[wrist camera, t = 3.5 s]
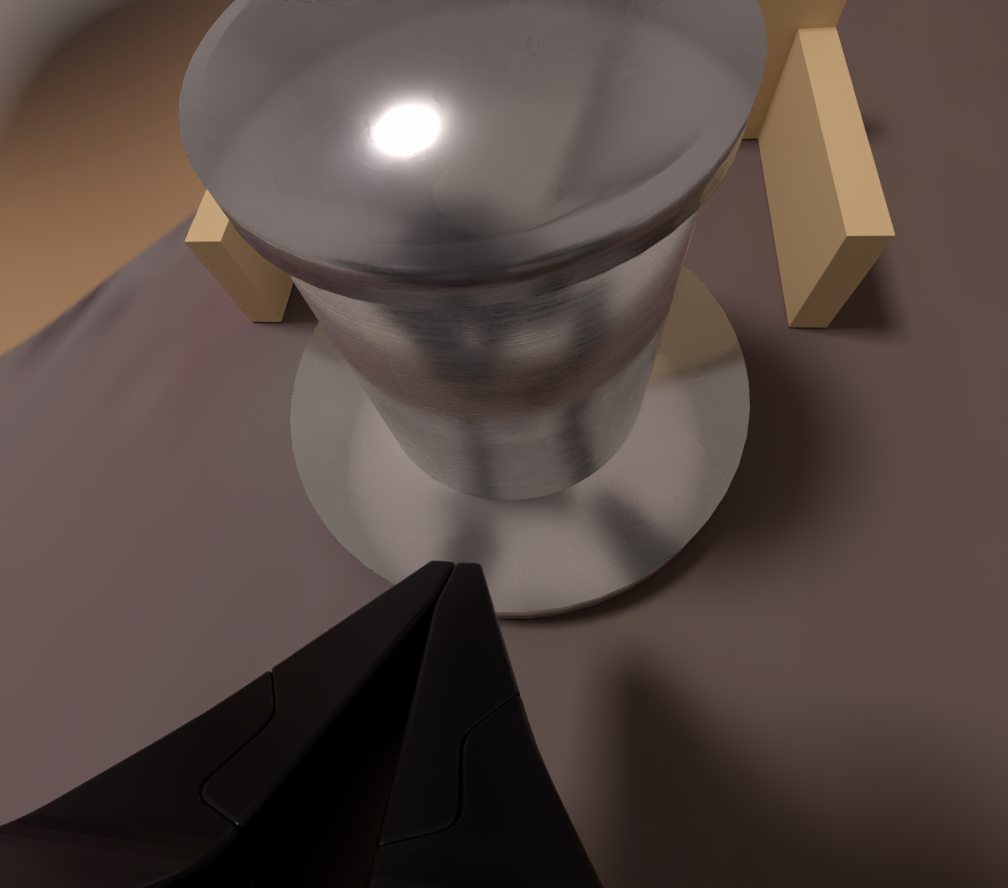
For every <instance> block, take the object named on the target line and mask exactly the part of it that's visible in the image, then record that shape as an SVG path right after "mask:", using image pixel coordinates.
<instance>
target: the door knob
mask: <svg viewBox="0 0 1008 888" xmlns="http://www.w3.org/2000/svg"><path fill="white" fill-rule="evenodd" d="M766 55H767V39H766V27H765V22H764V19H763V16H762V12H761V9H760V6H759V3H758V0H235V1H234V2H233V3H232V4H231V5H230V6H229V7H228V8H227V9H226V10H225V11H224V12H223V14H222V15H221V16H220V17H219V18H218V20H217V21H216V22H215V23H214V25H213V26H212V27H211V28H210V30H209V31H208V32H207V33H206V35H205V37H204V38H203V40H202V42H201V43H200V45H199V47H198V48H197V50H196V52H195V53H194V55H193V58H192V60H191V62H190V65H189V67H188V69H187V72H186V74H185V77H184V81H183V85H182V90H181V94H180V99H179V127H180V132H181V137H182V142H183V146H184V149H185V151H186V154H187V156H188V158H189V161H190V163H191V165H192V167H193V169H194V171H195V172H196V174H197V175H198V177H199V178H200V180H201V181H202V182H203V184H204V185H205V187H206V188H207V190H208V191H209V192H210V194H211V195H212V197H213V198H214V199H215V201H216V202H217V204H218V205H219V207H220V208H221V209H222V211H223V212H224V214H225V215H226V217H227V218H228V219H229V221H230V222H231V223H232V225H233V226H234V228H235V229H236V230H237V232H238V233H239V235H240V236H241V237H242V238H243V239H244V240H245V241H246V242H247V243H248V244H249V245H250V246H251V247H252V248H253V249H254V250H255V251H256V252H258V253H259V254H260V255H261V256H262V257H263V258H265V259H266V260H268V261H269V262H271V263H272V264H274V265H275V266H277V267H278V268H280V269H281V270H283V271H284V272H286V273H287V274H288V275H289V276H290V278H291V279H292V281H293V282H294V284H295V285H296V287H297V288H298V290H299V291H300V293H301V295H302V296H303V298H304V299H305V301H306V302H307V304H308V305H309V307H310V308H311V310H312V311H313V313H314V315H315V316H316V318H317V319H318V321H319V323H318V324H317V326H316V328H315V330H314V332H313V334H312V336H311V338H310V340H309V342H308V344H307V346H306V348H305V350H304V353H303V356H302V359H301V362H300V364H299V367H298V370H297V374H296V379H295V383H294V388H293V393H292V401H291V418H290V425H291V437H292V448H293V452H294V456H295V461H296V465H297V469H298V473H299V476H300V478H301V481H302V483H303V486H304V488H305V490H306V493H307V495H308V498H309V500H310V502H311V503H312V505H313V506H314V508H315V510H316V511H317V513H318V515H319V516H320V518H321V520H322V521H323V523H324V524H325V525H326V527H327V528H328V529H329V530H330V531H331V533H332V534H333V535H334V536H335V537H336V539H337V540H338V541H339V542H340V543H341V544H342V546H343V547H344V548H346V549H347V550H348V551H349V552H350V553H351V554H352V555H354V556H355V557H356V558H357V559H358V560H359V561H360V562H362V563H363V564H364V565H365V566H366V567H368V568H369V569H371V570H372V571H374V572H376V573H377V574H379V575H380V576H382V577H383V578H385V579H386V580H388V581H390V582H391V583H393V584H394V585H396V584H397V583H399V582H400V581H402V580H403V579H405V578H406V577H408V576H409V575H410V574H412V573H413V572H415V571H416V570H418V569H419V568H421V567H422V566H424V565H425V564H427V563H428V562H430V561H432V560H437V561H451V562H454V563H455V564H457V563H459V562H465V563H478V564H480V565H481V566H482V568H483V572H484V575H485V578H486V582H487V585H488V589H489V592H490V595H491V599H492V602H493V605H494V609H495V612H496V615H497V618H501V619H531V618H538V617H546V616H554V615H561V614H565V613H569V612H573V611H576V610H580V609H584V608H587V607H591V606H594V605H597V604H599V603H601V602H604V601H606V600H608V599H611V598H613V597H615V596H618V595H620V594H622V593H624V592H626V591H628V590H629V589H631V588H633V587H634V586H636V585H638V584H639V583H641V582H643V581H644V580H646V579H647V578H649V577H651V576H652V575H653V574H655V573H656V572H657V571H658V570H659V569H661V568H662V567H663V566H664V565H665V564H667V563H668V562H669V561H670V560H672V559H673V558H674V557H675V556H676V555H677V554H678V553H679V552H680V551H681V550H682V549H683V547H684V546H685V545H686V544H687V543H688V542H689V541H690V540H691V539H692V538H693V536H694V535H695V534H696V533H697V532H698V531H699V530H700V529H701V527H702V526H703V525H704V524H705V523H706V522H707V521H708V520H709V518H710V517H711V515H712V513H713V512H714V510H715V509H716V507H717V506H718V504H719V503H720V501H721V500H722V498H723V497H724V495H725V494H726V492H727V490H728V488H729V485H730V483H731V481H732V479H733V477H734V475H735V472H736V470H737V468H738V466H739V463H740V459H741V456H742V452H743V448H744V445H745V441H746V438H747V430H748V421H749V413H750V400H749V381H748V376H747V371H746V366H745V361H744V356H743V353H742V350H741V347H740V345H739V342H738V339H737V336H736V334H735V331H734V329H733V327H732V325H731V323H730V322H729V320H728V318H727V316H726V314H725V312H724V310H723V309H722V307H721V306H720V304H719V303H718V302H717V300H716V299H715V298H714V296H713V295H712V294H711V292H710V291H709V289H708V288H707V287H706V286H705V285H704V284H703V283H702V282H701V281H700V280H699V279H698V278H697V277H696V276H695V274H694V273H693V272H692V271H691V270H690V269H689V268H687V267H686V266H685V265H684V260H685V257H686V254H687V250H688V247H689V243H690V240H691V237H692V233H693V230H694V226H695V223H696V220H697V216H698V213H699V210H700V207H701V206H702V205H703V203H704V202H705V201H706V200H707V199H708V197H709V196H710V195H711V194H712V193H713V191H714V190H715V189H716V188H717V187H718V186H719V184H720V183H721V181H722V179H723V178H724V176H725V174H726V172H727V171H728V169H729V167H730V166H731V164H732V162H733V161H734V159H735V157H736V154H737V151H738V148H739V146H740V143H741V140H742V138H743V135H744V132H745V129H746V126H747V123H748V120H749V117H750V114H751V111H752V108H753V105H754V102H755V99H756V96H757V93H758V90H759V87H760V84H761V81H762V78H763V75H764V69H765V62H766Z"/></svg>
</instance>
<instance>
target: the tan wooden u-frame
mask: <svg viewBox="0 0 1008 888" xmlns="http://www.w3.org/2000/svg"><path fill="white" fill-rule="evenodd" d="M846 1H847V0H758V3H759V6H760V9H761V12H762V16H763V19H764V22H765V27H766V39H767V55H766V62H765V69H764V75H763V78H762V81H761V84H760V87H759V90H758V93H757V96H756V99H755V102H754V105H753V108H752V111H751V114H750V117H749V120H748V123H747V126H746V129H745V132H744V135H743V138H742V139H758V141H759V148H760V154H761V160H762V166H763V172H764V178H765V184H766V190H767V197H768V203H769V209H770V215H771V221H772V227H773V233H774V239H775V246H776V252H777V258H778V264H779V270H780V276H781V282H782V289H783V295H784V301H785V307H786V313H787V319H788V325H789V327H823V328H827V327H828V325H829V324H830V323H831V321H832V320H833V319H834V317H835V316H836V315H837V313H838V312H839V311H840V309H841V308H842V307H843V305H844V304H845V302H846V301H847V300H848V298H849V297H850V296H851V294H852V293H853V292H854V290H855V289H856V288H857V286H858V285H859V284H860V282H861V281H862V280H863V278H864V277H865V276H866V274H867V273H868V271H869V270H870V269H871V267H872V266H873V265H874V263H875V262H876V261H877V259H878V258H879V257H880V255H881V254H882V253H883V251H884V250H885V249H886V247H887V246H888V245H889V243H890V242H891V241H892V239H893V238H894V236H895V233H894V230H893V226H892V223H891V219H890V216H889V212H888V209H887V205H886V202H885V198H884V195H883V191H882V188H881V184H880V180H879V177H878V173H877V170H876V166H875V163H874V159H873V156H872V152H871V149H870V145H869V142H868V138H867V135H866V131H865V128H864V124H863V121H862V117H861V114H860V110H859V107H858V103H857V100H856V96H855V93H854V89H853V86H852V82H851V79H850V75H849V72H848V68H847V65H846V61H845V58H844V54H843V51H842V47H841V44H840V40H839V37H838V33H837V30H836V25H837V22H838V20H839V18H840V15H841V13H842V10H843V8H844V6H845V3H846ZM185 243H186V244H187V245H188V246H189V248H190V249H191V250H192V251H193V252H194V254H195V255H196V256H197V257H198V258H199V260H200V261H201V262H202V263H203V264H204V266H205V267H206V268H207V269H208V270H209V272H210V273H211V274H212V275H213V276H214V277H215V279H216V280H217V281H218V282H219V283H220V285H221V286H222V287H223V288H224V289H225V291H226V292H227V293H228V294H229V295H230V297H231V298H232V299H233V300H234V301H235V303H236V304H237V305H238V306H239V307H240V309H241V310H242V311H243V312H244V313H245V315H246V316H247V317H248V318H249V319H250V321H251V322H282V319H283V316H284V312H285V309H286V306H287V302H288V299H289V296H290V293H291V289H292V286H293V283H294V282H293V281H292V279H291V278H290V276H289V275H288V274H287V273H286V272H284V271H283V270H281V269H280V268H278V267H277V266H275V265H274V264H272V263H271V262H269V261H268V260H266V259H265V258H263V257H262V256H261V255H260V254H259V253H258V252H256V251H255V250H254V249H253V248H252V247H251V246H250V245H249V244H248V243H247V242H246V241H245V240H244V239H243V238H242V237H241V236H240V235H239V233H238V232H237V230H236V229H235V228H234V226H233V225H232V223H231V222H230V221H229V219H228V218H227V217H226V215H225V214H224V212H223V211H222V209H221V208H220V207H219V205H218V204H217V202H216V201H215V199H214V198H213V197H212V195H211V194H210V192H209V191H208V190H206V193H205V195H204V197H203V199H202V202H201V204H200V207H199V209H198V211H197V214H196V216H195V218H194V221H193V223H192V225H191V228H190V230H189V232H188V235H187V237H186V239H185Z"/></svg>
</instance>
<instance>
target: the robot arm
mask: <svg viewBox="0 0 1008 888" xmlns="http://www.w3.org/2000/svg"><path fill="white" fill-rule="evenodd" d="M0 888H603V886H602V884H601V882H600V880H599V878H598V876H597V874H596V872H595V870H594V867H593V865H592V863H591V861H590V859H589V857H588V855H587V853H586V851H585V849H584V847H583V845H582V842H581V840H580V838H579V836H578V834H577V832H576V830H575V828H574V826H573V824H572V822H571V820H570V817H569V815H568V813H567V811H566V809H565V807H564V805H563V803H562V801H561V799H560V797H559V795H558V793H557V790H556V788H555V786H554V784H553V782H552V780H551V777H550V775H549V773H548V770H547V768H546V766H545V764H544V761H543V759H542V757H541V754H540V752H539V750H538V747H537V744H536V741H535V738H534V736H533V733H532V730H531V727H530V724H529V721H528V718H527V715H526V712H525V708H524V705H523V702H522V699H521V697H520V693H519V689H518V686H517V683H516V679H515V676H514V672H513V669H512V666H511V662H510V659H509V656H508V652H507V649H506V646H505V642H504V639H503V636H502V632H501V629H500V625H499V622H498V619H497V615H496V612H495V609H494V605H493V602H492V599H491V595H490V592H489V589H488V585H487V582H486V578H485V575H484V572H483V568H482V566H481V565H480V564H478V563H465V562H459V563H457V564H455V563H454V562H451V561H437V560H432V561H430V562H428V563H427V564H425V565H424V566H422V567H421V568H419V569H418V570H416V571H415V572H413V573H412V574H410V575H409V576H408V577H406V578H405V579H403V580H402V581H400V582H399V583H397V584H396V585H394V586H393V587H391V588H390V589H388V590H387V591H385V592H384V593H382V594H381V595H380V596H378V597H377V598H375V599H374V600H372V601H371V602H369V603H368V604H366V605H365V606H363V607H362V608H360V609H359V610H357V611H356V612H354V613H353V614H351V615H350V616H349V617H347V618H346V619H344V620H343V621H341V622H340V623H338V624H337V625H335V626H334V627H332V628H331V629H329V630H328V631H326V632H325V633H323V634H322V635H321V636H319V637H318V638H316V639H315V640H313V641H312V642H310V643H309V644H307V645H306V646H304V647H303V648H301V649H300V650H298V651H297V652H295V653H294V654H292V655H291V656H290V657H288V658H287V659H285V660H284V661H282V662H281V663H279V664H278V665H276V666H275V667H273V668H272V673H271V672H270V671H267V672H266V673H264V674H263V675H261V676H260V677H258V678H257V679H255V680H254V681H252V682H251V683H249V684H248V685H246V686H245V687H243V688H242V689H240V690H239V691H237V692H236V693H234V694H233V695H231V696H230V697H228V698H226V699H225V700H223V701H222V702H220V703H219V704H217V705H216V706H214V707H213V708H211V709H210V710H208V711H206V712H205V713H203V714H201V715H200V716H198V717H196V718H195V719H193V720H191V721H190V722H188V723H186V724H185V725H183V726H181V727H180V728H178V729H176V730H175V731H173V732H171V733H170V734H168V735H166V736H164V737H163V738H161V739H159V740H158V741H156V742H154V743H152V744H151V745H149V746H147V747H145V748H144V749H142V750H140V751H138V752H137V753H135V754H133V755H132V756H130V757H128V758H126V759H125V760H123V761H121V762H119V763H118V764H116V765H114V766H112V767H111V768H109V769H107V770H106V771H104V772H102V773H100V774H99V775H97V776H95V777H93V778H92V779H90V780H88V781H86V782H85V783H83V784H81V785H80V786H78V787H76V788H74V789H73V790H71V791H69V792H67V793H66V794H64V795H62V796H61V797H59V798H57V799H55V800H54V801H52V802H50V803H48V804H46V805H44V806H42V807H41V808H39V809H37V810H35V811H33V812H31V813H29V814H27V815H25V816H23V817H21V818H18V819H16V820H14V821H12V822H9V823H7V824H4V825H1V826H0Z"/></svg>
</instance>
